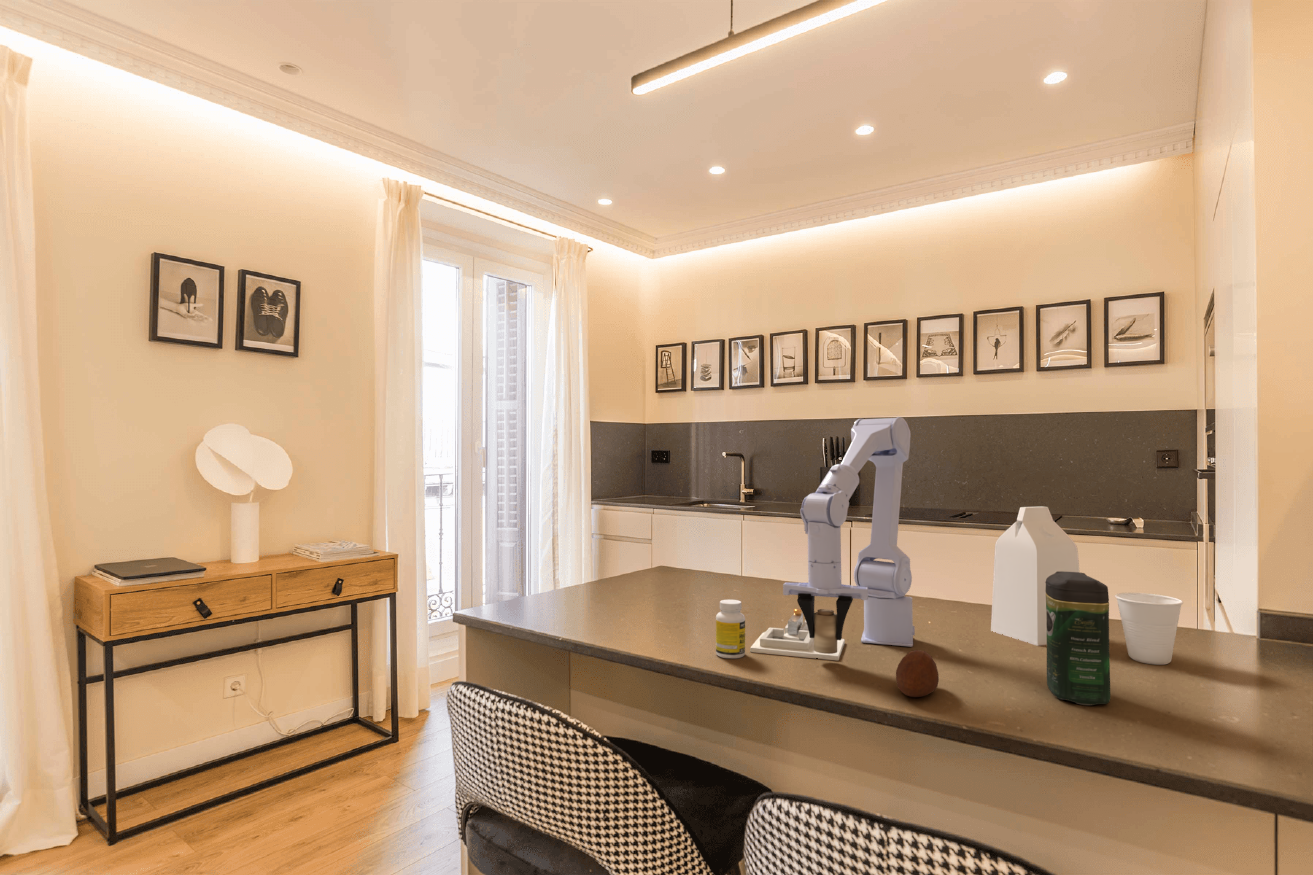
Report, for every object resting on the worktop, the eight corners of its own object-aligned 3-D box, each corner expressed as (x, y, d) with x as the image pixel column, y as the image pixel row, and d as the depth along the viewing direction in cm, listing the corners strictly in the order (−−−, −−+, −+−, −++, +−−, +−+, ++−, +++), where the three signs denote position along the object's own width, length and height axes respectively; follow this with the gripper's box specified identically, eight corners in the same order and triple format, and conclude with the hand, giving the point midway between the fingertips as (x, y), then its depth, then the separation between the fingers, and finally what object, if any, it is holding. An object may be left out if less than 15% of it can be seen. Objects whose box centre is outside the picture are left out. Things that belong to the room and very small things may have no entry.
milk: (1035, 626, 146) (1033, 504, 146) (1084, 640, 135) (1081, 508, 135) (990, 631, 142) (988, 505, 143) (1037, 645, 131) (1035, 510, 132)
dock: (848, 630, 142) (848, 620, 143) (838, 660, 122) (838, 648, 122) (772, 624, 148) (772, 614, 148) (750, 651, 127) (750, 640, 128)
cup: (1123, 648, 128) (1121, 590, 129) (1189, 659, 121) (1187, 597, 122) (1110, 660, 122) (1108, 598, 122) (1179, 672, 114) (1177, 606, 115)
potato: (887, 701, 102) (887, 657, 102) (904, 679, 112) (903, 640, 112) (930, 709, 99) (930, 664, 99) (943, 686, 108) (943, 645, 109)
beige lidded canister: (838, 649, 122) (838, 609, 122) (836, 654, 118) (836, 613, 118) (815, 646, 123) (815, 607, 124) (812, 652, 120) (812, 611, 120)
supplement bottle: (744, 660, 123) (743, 605, 123) (714, 658, 124) (713, 604, 124) (746, 651, 128) (746, 599, 128) (717, 650, 129) (717, 597, 129)
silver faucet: (803, 625, 143) (802, 608, 143) (797, 635, 136) (796, 616, 136) (794, 624, 144) (794, 607, 144) (788, 634, 136) (787, 616, 137)
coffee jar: (1118, 710, 98) (1115, 580, 98) (1055, 703, 100) (1053, 577, 101) (1099, 688, 107) (1096, 569, 107) (1042, 683, 110) (1040, 567, 110)
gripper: (779, 562, 120) (780, 639, 120) (865, 566, 115) (867, 647, 115) (786, 556, 127) (787, 629, 126) (868, 560, 121) (869, 636, 121)
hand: (825, 637), depth 121 cm, fingers closed on beige lidded canister, 4 cm apart
